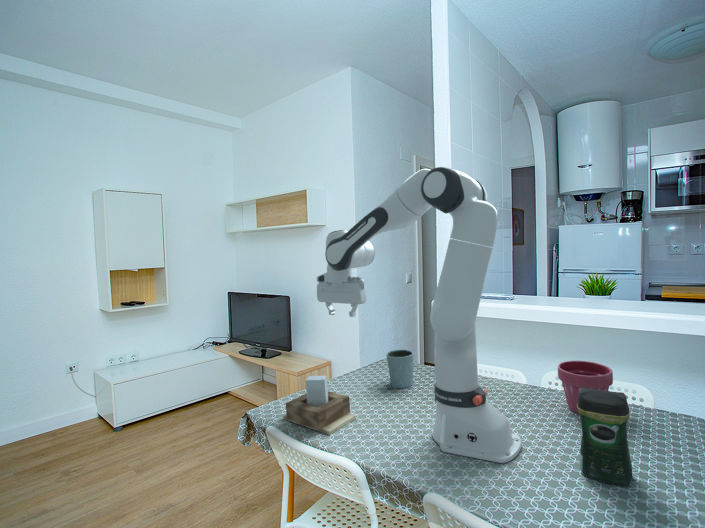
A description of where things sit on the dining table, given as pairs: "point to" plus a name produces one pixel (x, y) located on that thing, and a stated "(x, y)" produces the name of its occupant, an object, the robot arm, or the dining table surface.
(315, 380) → the skincare box
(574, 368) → the plant pot
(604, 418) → the coffee jar
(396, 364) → the blue-grey flower pot
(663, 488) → the dining table surface
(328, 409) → the socket
